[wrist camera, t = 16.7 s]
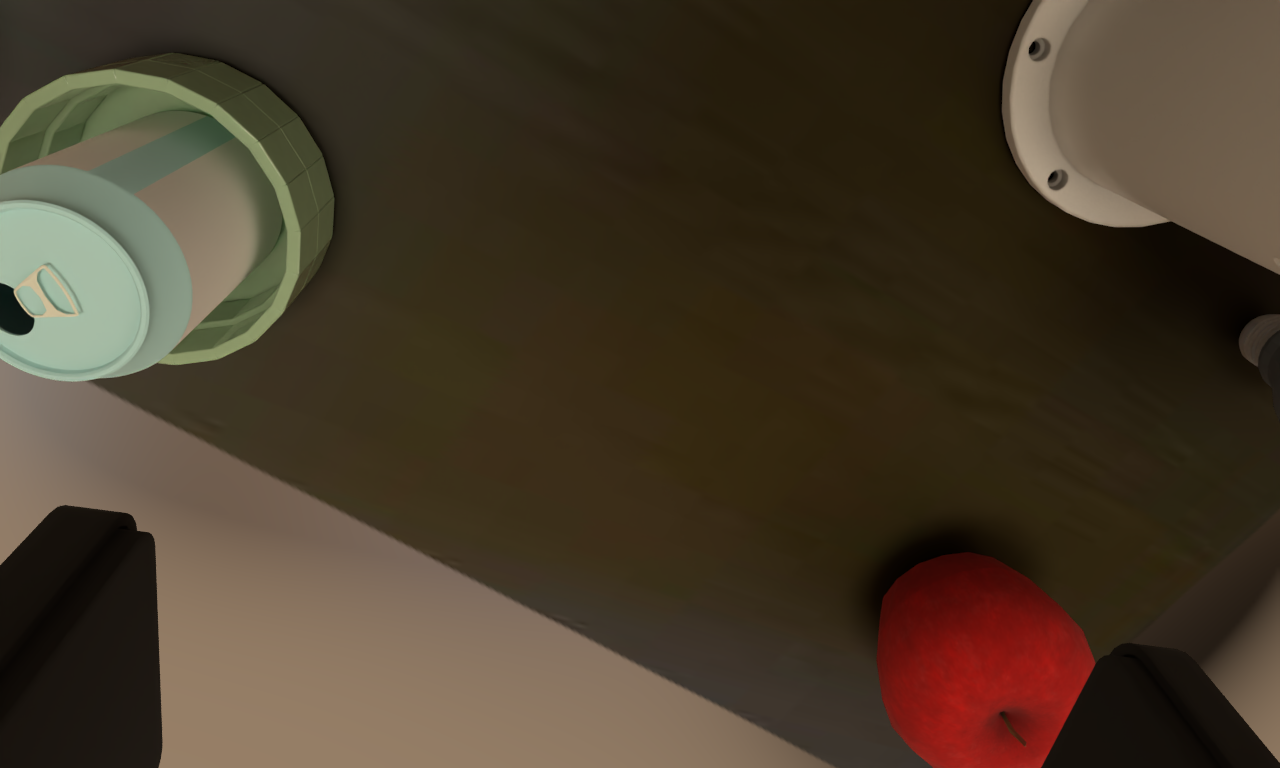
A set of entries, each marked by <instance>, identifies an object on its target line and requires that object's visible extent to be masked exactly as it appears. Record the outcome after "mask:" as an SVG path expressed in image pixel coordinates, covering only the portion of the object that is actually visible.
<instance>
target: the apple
mask: <svg viewBox="0 0 1280 768" xmlns="http://www.w3.org/2000/svg"><path fill="white" fill-rule="evenodd" d="M877 666H878V673H879V680H880V686H881V693H882V700H883V702H884V705H885V708H886V711H887V714H888V716H889V719H890V722H891V725H892V727H893V728H894V730H895V731H896V732H897V733H898V734H899V735H900V736H901V737H902V739H903V740H904V741H905V742H906V743H907V744H908V745H909V747H910V748H911V749H912V750H913V751H914V752H916V753H917V754H918V755H919V756H920V757H922V758H923V759H924V760H925V761H926V762H927V763H929V764H930V765H931V766H932V767H933V768H1041V767H1042V765H1043V763H1044V761H1045V759H1046V757H1047V755H1048V754H1049V752H1050V750H1051V748H1052V746H1053V744H1054V742H1055V740H1056V738H1057V736H1058V735H1059V733H1060V731H1061V729H1062V727H1063V725H1064V723H1065V721H1066V719H1067V717H1068V715H1069V714H1070V712H1071V710H1072V708H1073V706H1074V704H1075V702H1076V700H1077V698H1078V696H1079V695H1080V693H1081V691H1082V689H1083V687H1084V685H1085V683H1086V681H1087V679H1088V677H1089V676H1090V674H1091V672H1092V670H1093V668H1094V666H1095V661H1094V658H1093V656H1092V653H1091V650H1090V648H1089V645H1088V643H1087V640H1086V637H1085V635H1084V632H1083V630H1082V629H1081V628H1080V627H1079V626H1078V625H1077V624H1076V623H1075V622H1074V620H1073V619H1072V618H1071V617H1070V616H1069V615H1068V614H1067V613H1066V612H1065V611H1064V610H1063V609H1062V608H1061V607H1060V606H1059V605H1058V604H1057V603H1056V602H1055V601H1054V600H1053V599H1051V598H1050V597H1049V596H1048V595H1047V594H1046V593H1045V592H1044V591H1042V590H1041V589H1040V588H1039V587H1038V586H1037V585H1036V584H1034V583H1033V582H1032V581H1031V580H1030V579H1029V578H1027V577H1026V576H1024V575H1022V574H1020V573H1019V572H1017V571H1015V570H1014V569H1012V568H1010V567H1008V566H1007V565H1005V564H1003V563H1002V562H1000V561H998V560H996V559H995V558H993V557H989V556H985V555H980V554H976V553H971V552H965V553H957V554H949V555H942V556H939V557H937V558H934V559H931V560H928V561H925V562H922V563H919V564H917V565H916V566H914V567H913V568H912V569H910V570H909V571H907V572H906V573H905V574H903V575H902V576H900V577H899V578H897V580H896V581H895V582H894V584H893V585H892V586H891V588H890V589H889V590H888V592H887V593H886V594H885V596H884V597H883V601H882V608H881V614H880V623H879V636H878V648H877Z"/></svg>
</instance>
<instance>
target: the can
mask: <svg viewBox="0 0 1280 768" xmlns="http://www.w3.org/2000/svg"><path fill="white" fill-rule="evenodd" d="M282 216H283V215H282V211H281V208H280V205H279V201H278V198H277V195H276V191H275V188H274V187H273V185H272V183H271V182H270V180H269V179H268V177H267V176H266V174H265V173H264V171H263V170H262V168H261V167H260V165H259V164H258V162H257V161H256V159H255V157H254V156H253V154H252V153H251V151H250V150H249V148H248V147H246V146H245V145H244V144H243V143H242V142H241V141H240V140H238V139H237V138H236V137H235V136H234V135H233V134H232V133H231V132H229V131H228V130H227V129H226V128H225V127H224V126H223V125H222V124H220V123H219V122H218V121H217V120H216V119H214V118H211V117H209V116H206V115H202V114H198V113H193V112H187V111H165V112H159V113H154V114H151V115H148V116H145V117H143V118H140V119H138V120H135V121H133V122H130V123H128V124H125V125H123V126H120V127H118V128H115V129H113V130H110V131H108V132H105V133H103V134H100V135H98V136H95V137H93V138H90V139H88V140H85V141H83V142H80V143H78V144H75V145H73V146H70V147H68V148H65V149H63V150H60V151H58V152H55V153H53V154H50V155H48V156H45V157H43V158H40V159H38V160H35V161H33V162H30V163H28V164H25V165H23V166H20V167H18V168H15V169H13V170H10V171H8V172H6V173H3V174H1V175H0V359H2V360H3V361H5V362H7V363H9V364H10V365H12V366H14V367H16V368H18V369H20V370H22V371H25V372H27V373H30V374H33V375H36V376H39V377H42V378H47V379H51V380H58V381H87V380H92V379H97V378H111V377H119V376H124V375H128V374H132V373H135V372H138V371H141V370H143V369H146V368H148V367H150V366H152V365H154V364H155V363H157V362H158V361H160V360H161V359H163V358H164V357H165V356H166V355H167V354H168V353H170V352H171V351H172V350H173V349H174V348H175V347H176V346H177V345H178V344H179V343H180V342H181V341H182V340H183V339H184V338H185V337H186V336H187V335H188V334H189V333H190V332H191V331H192V330H193V329H194V328H195V327H196V326H197V325H198V324H199V323H200V322H201V321H202V320H203V319H204V318H205V317H206V316H207V315H208V314H209V313H210V312H211V311H213V310H214V309H215V308H216V307H217V306H218V305H219V304H220V303H221V302H222V301H223V300H224V299H225V298H226V297H227V296H228V295H229V294H230V293H231V292H232V291H233V290H234V289H235V288H236V287H237V286H238V285H239V284H240V283H241V282H242V281H243V280H244V279H245V278H246V277H247V276H248V275H249V274H250V273H251V272H252V271H253V270H254V269H255V268H256V267H257V266H258V265H259V264H260V263H262V262H263V261H264V259H265V258H266V257H267V256H268V255H269V254H270V252H271V251H272V249H273V247H274V246H275V244H276V242H277V239H278V237H279V234H280V230H281V225H282Z"/></svg>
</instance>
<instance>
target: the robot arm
mask: <svg viewBox="0 0 1280 768" xmlns="http://www.w3.org/2000/svg"><path fill="white" fill-rule="evenodd" d="M1033 41H1034V42H1035V44H1036V46H1035V50H1034V51H1033V52H1032V53H1031V54H1028V53H1029V47H1030V45H1031V44H1032V42H1033ZM1002 116H1003V122H1004V128H1005V134H1006V140H1007V142H1008V145H1009V147H1010V150H1011V153H1012V155H1013V158H1014V160H1015V163H1016V165H1017V166H1018V168H1019V169H1020V171H1021V172H1022V174H1023V175H1024V177H1025V178H1026V179H1027V181H1028V182H1029V184H1030V185H1031V186H1032V187H1033V188H1034V189H1035V190H1036V191H1037V192H1039V193H1040V194H1041V195H1042V196H1043V197H1044V198H1045V199H1046V200H1047V201H1049V202H1050V203H1052V204H1054V205H1055V206H1057V207H1058V208H1060V209H1062V210H1063V211H1065V212H1066V213H1069V214H1071V215H1073V216H1076V217H1078V218H1080V219H1083V220H1085V221H1087V222H1090V223H1095V224H1100V225H1106V226H1111V227H1144V226H1149V225H1155V224H1160V223H1165V222H1170V221H1172V222H1174V223H1176V224H1178V225H1180V226H1182V227H1184V228H1186V229H1188V230H1190V231H1192V232H1194V233H1196V234H1198V235H1200V236H1202V237H1204V238H1206V239H1208V240H1210V241H1212V242H1214V243H1217V244H1219V245H1221V246H1223V247H1225V248H1227V249H1229V250H1231V251H1233V252H1235V253H1237V254H1239V255H1241V256H1243V257H1245V258H1247V259H1249V260H1251V261H1253V262H1255V263H1257V264H1259V265H1261V266H1263V267H1265V268H1267V269H1269V270H1271V271H1273V272H1275V273H1277V274H1279V275H1280V0H1033V1H1032V3H1031V5H1030V6H1029V8H1028V10H1027V12H1026V13H1025V15H1024V17H1023V18H1022V20H1021V22H1020V25H1019V27H1018V30H1017V33H1016V35H1015V38H1014V40H1013V43H1012V45H1011V48H1010V50H1009V54H1008V59H1007V64H1006V69H1005V73H1004V78H1003V88H1002ZM1052 172H1054V175H1053V177H1052V178H1051V179H1050V180H1048V177H1049V176H1050V174H1051V173H1052ZM155 557H156V556H155V542H154V538H153V536H152V534H150V533H148V532H141V531H137V527H136V522H135V520H134V518H133V517H132V516H131V515H130V514H128V513H121V512H114V511H105V510H98V509H90V508H83V507H74V506H67V505H64V506H60V507H57V508H56V509H55V510H53V511H52V512H51V513H49V514H48V515H47V517H46V518H45V519H44V520H43V521H42V522H41V523H40V524H39V525H38V526H37V527H36V528H35V529H34V530H33V531H32V532H31V534H29V536H28V537H27V538H26V539H25V540H24V541H23V542H22V543H21V544H20V545H19V546H18V547H17V548H16V549H15V550H14V551H13V552H12V554H11V555H10V556H9V557H8V558H7V559H6V560H5V561H4V562H3V563H2V564H1V565H0V768H158V767H159V763H160V759H161V753H162V718H161V692H160V664H159V640H158V639H159V637H158V612H157V583H156V558H155ZM1041 768H1280V763H1279V762H1278V760H1277V759H1276V758H1275V757H1274V756H1273V755H1272V753H1271V752H1270V751H1269V750H1268V749H1267V747H1266V746H1265V745H1264V744H1263V742H1262V741H1261V740H1260V739H1259V738H1258V736H1257V735H1256V734H1255V733H1254V731H1253V730H1252V729H1251V728H1250V727H1249V725H1248V724H1247V723H1246V722H1245V721H1244V719H1243V718H1242V717H1241V716H1240V715H1239V713H1238V712H1237V711H1236V710H1235V709H1234V707H1233V706H1232V705H1231V704H1230V703H1229V701H1228V700H1227V699H1226V698H1225V696H1224V695H1223V694H1222V693H1221V692H1220V691H1219V689H1218V688H1217V687H1216V686H1215V684H1214V683H1213V682H1212V681H1211V680H1210V678H1209V677H1208V676H1207V675H1206V674H1205V673H1204V671H1203V670H1202V669H1201V668H1200V666H1199V665H1198V664H1197V663H1196V662H1195V660H1193V659H1192V658H1191V657H1190V656H1189V655H1188V654H1187V653H1185V652H1183V651H1180V650H1178V649H1171V648H1163V647H1155V646H1148V645H1139V644H1132V643H1127V644H1121V645H1119V646H1118V647H1116V648H1114V650H1113V651H1112V652H1111V654H1110V655H1106V656H1104V657H1102V658H1100V659H1099V660H1098V662H1097V663H1096V664H1095V666H1094V668H1093V670H1092V672H1091V674H1090V676H1089V677H1088V679H1087V681H1086V683H1085V685H1084V687H1083V689H1082V691H1081V693H1080V695H1079V696H1078V698H1077V700H1076V702H1075V704H1074V706H1073V708H1072V710H1071V712H1070V714H1069V715H1068V717H1067V719H1066V721H1065V723H1064V725H1063V727H1062V729H1061V731H1060V733H1059V735H1058V736H1057V738H1056V740H1055V742H1054V744H1053V746H1052V748H1051V750H1050V752H1049V754H1048V755H1047V757H1046V759H1045V761H1044V763H1043V765H1042V767H1041Z"/></svg>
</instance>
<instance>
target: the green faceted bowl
mask: <svg viewBox="0 0 1280 768" xmlns="http://www.w3.org/2000/svg"><path fill="white" fill-rule="evenodd" d="M165 111H187V112H193V113H198V114H202V115H206V116H209V117H211V118H214V119H216V120H217V121H218V122H219V123H220V124H222V125H223V126H224V127H225V128H226V129H227V130H228V131H229V132H231V133H232V134H233V135H234V136H235V137H236V138H237V139H238V140H240V141H241V142H242V143H243V144H244V145H245V146H246V147H248V148H249V150H250V151H251V153H252V154H253V156H254V157H255V159H256V161H257V162H258V164H259V165H260V167H261V168H262V170H263V171H264V173H265V174H266V176H267V177H268V179H269V180H270V182H271V183H272V185H273V187H274V188H275V191H276V195H277V198H278V201H279V205H280V208H281V211H282V215H283V216H282V225H281V230H280V234H279V237H278V239H277V242H276V244H275V246H274V247H273V249H272V251H271V252H270V254H269V255H268V256H267V257H266V258H265V259H264V261H263V262H262V263H260V264H259V265H258V266H257V267H256V268H255V269H254V270H253V271H252V272H251V273H250V274H249V275H248V276H247V277H246V278H245V279H244V280H243V281H242V282H241V283H240V284H239V285H238V286H237V287H236V288H235V289H234V290H233V291H232V292H231V293H230V294H229V295H228V296H227V297H226V298H225V299H224V300H223V301H222V302H221V303H220V304H219V305H218V306H217V307H216V308H215V309H214V310H213V311H211V312H210V313H209V314H208V315H207V316H206V317H205V318H204V319H203V320H202V321H201V322H200V323H199V324H198V325H197V326H196V327H195V328H194V329H193V330H192V331H191V332H190V333H189V334H188V335H187V336H186V337H185V338H184V339H183V340H182V341H181V342H180V343H179V344H178V345H177V346H176V347H175V348H174V349H173V350H172V351H171V352H170V353H168V354H167V355H166V356H165V357H164V358H163V359H161V360H160V361H158V362H157V363H162V364H169V365H180V364H188V363H195V362H203V361H211V360H217V359H220V358H222V357H225V356H227V355H229V354H231V353H233V352H235V351H237V350H239V349H241V348H243V347H245V346H248V345H250V344H252V343H254V342H255V341H257V340H258V339H259V338H260V337H261V336H262V335H263V333H264V332H265V331H266V330H267V329H268V328H269V327H270V326H271V325H272V324H273V323H274V322H275V321H276V320H277V319H278V318H279V317H280V316H281V315H282V314H283V313H284V311H285V310H286V309H287V308H288V307H289V305H290V304H291V303H292V302H293V301H294V299H295V298H296V297H297V296H298V295H299V293H300V292H301V291H302V290H303V288H304V287H305V286H306V285H307V284H308V282H309V281H310V280H311V279H312V277H313V276H314V275H315V274H316V272H317V271H318V270H319V267H320V265H321V263H322V260H323V258H324V255H325V253H326V251H327V248H328V246H329V244H330V241H331V239H332V235H333V216H334V194H333V190H332V187H331V183H330V179H329V176H328V172H327V168H326V165H325V161H324V158H323V155H322V153H321V151H320V150H319V148H318V146H317V145H316V143H315V142H314V140H313V138H312V137H311V135H310V133H309V132H308V130H307V129H306V127H305V125H304V124H303V122H302V121H301V119H300V117H298V115H297V114H296V113H295V112H294V111H293V110H291V109H290V108H289V107H288V106H287V105H286V104H285V103H284V102H283V101H282V100H281V99H279V98H278V97H277V96H276V95H275V94H274V93H273V92H272V91H271V90H270V89H269V88H268V87H266V86H265V85H264V84H262V83H261V82H259V81H257V80H255V79H253V78H251V77H249V76H248V75H246V74H244V73H242V72H240V71H238V70H236V69H234V68H232V67H230V66H228V65H226V64H224V63H222V62H219V61H216V60H211V59H206V58H201V57H195V56H190V55H185V54H179V53H164V54H157V55H149V56H142V57H134V58H129V59H125V60H121V61H118V62H114V63H110V64H106V65H102V66H98V67H94V68H90V69H87V70H83V71H79V72H75V73H71V74H68V75H65V76H62V77H60V78H58V79H56V80H55V81H53V82H51V83H49V84H47V85H45V86H44V87H42V88H40V89H38V90H36V91H35V92H33V93H31V94H29V95H27V96H25V97H24V98H23V99H22V100H21V101H20V102H19V103H18V105H17V106H16V107H15V109H14V110H13V111H12V113H11V114H10V115H9V116H8V118H7V119H6V120H5V122H4V123H3V124H2V125H1V127H0V175H1V174H3V173H6V172H8V171H10V170H13V169H15V168H18V167H20V166H23V165H25V164H28V163H30V162H33V161H35V160H38V159H40V158H43V157H45V156H48V155H50V154H53V153H55V152H58V151H60V150H63V149H65V148H68V147H70V146H73V145H75V144H78V143H80V142H83V141H85V140H88V139H90V138H93V137H95V136H98V135H100V134H103V133H105V132H108V131H110V130H113V129H115V128H118V127H120V126H123V125H125V124H128V123H130V122H133V121H135V120H138V119H140V118H143V117H145V116H148V115H151V114H154V113H159V112H165Z"/></svg>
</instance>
